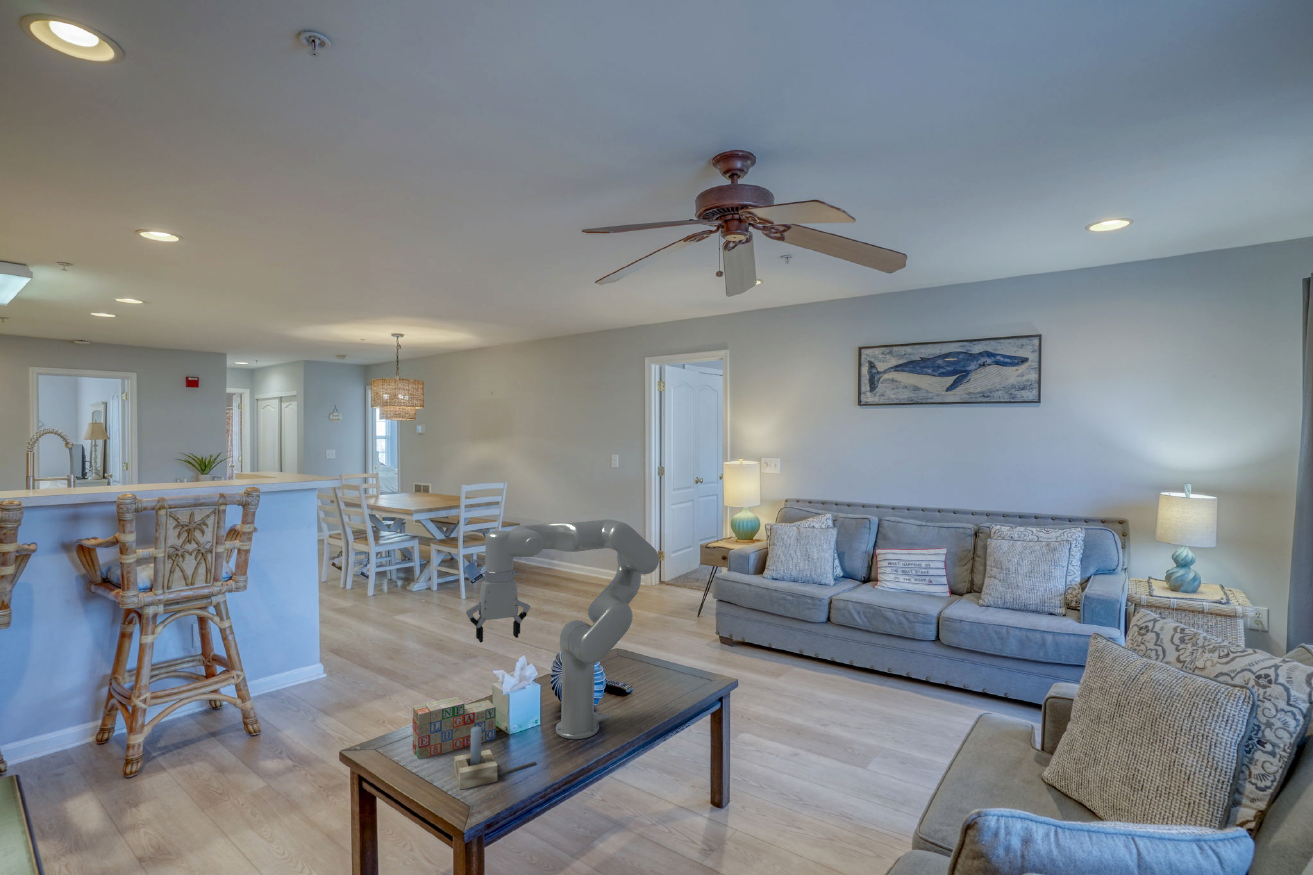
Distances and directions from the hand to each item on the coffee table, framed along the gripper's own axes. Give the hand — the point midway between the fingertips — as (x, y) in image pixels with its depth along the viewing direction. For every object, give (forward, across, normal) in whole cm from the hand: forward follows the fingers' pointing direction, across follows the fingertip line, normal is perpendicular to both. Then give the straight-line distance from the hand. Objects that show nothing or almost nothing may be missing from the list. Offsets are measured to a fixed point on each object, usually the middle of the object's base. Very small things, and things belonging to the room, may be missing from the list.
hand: (498, 638), depth 174 cm
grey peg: (+30, +8, +12) cm, 34 cm away
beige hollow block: (+30, +8, +12) cm, 34 cm away
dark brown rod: (+30, -2, +13) cm, 33 cm away
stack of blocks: (+31, +10, -8) cm, 33 cm away
